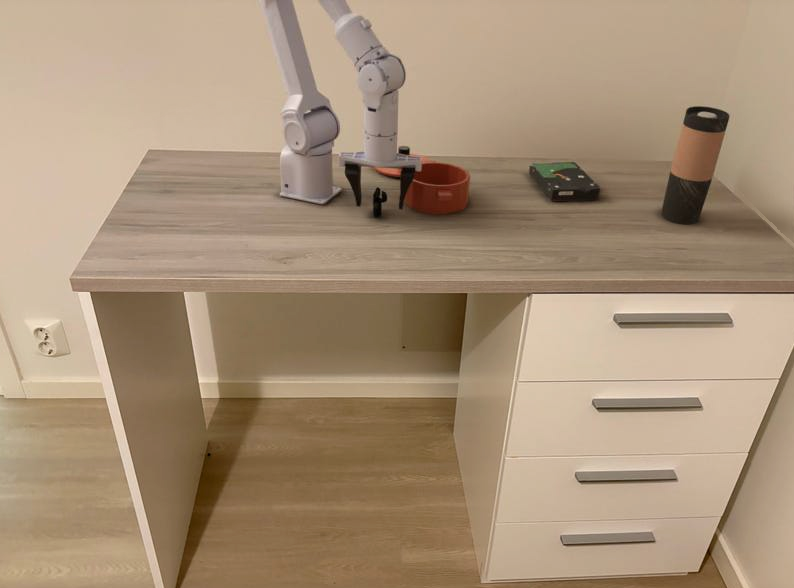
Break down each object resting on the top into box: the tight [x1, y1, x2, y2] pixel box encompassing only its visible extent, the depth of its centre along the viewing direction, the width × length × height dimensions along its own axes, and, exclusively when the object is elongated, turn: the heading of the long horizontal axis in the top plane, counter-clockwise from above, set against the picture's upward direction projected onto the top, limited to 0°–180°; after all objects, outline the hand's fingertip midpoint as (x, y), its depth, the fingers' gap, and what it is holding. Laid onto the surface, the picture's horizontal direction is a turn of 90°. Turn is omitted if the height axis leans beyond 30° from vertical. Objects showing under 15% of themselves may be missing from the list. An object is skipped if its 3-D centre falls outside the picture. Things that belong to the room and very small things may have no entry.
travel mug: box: [660, 105, 730, 225], centre depth 134 cm, size 8×8×20 cm
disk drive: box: [528, 161, 602, 202], centre depth 148 cm, size 10×3×15 cm
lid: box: [372, 145, 433, 178], centre depth 152 cm, size 13×13×4 cm
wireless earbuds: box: [372, 186, 388, 218], centre depth 132 cm, size 7×2×5 cm, turn 4°
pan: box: [404, 160, 471, 215], centre depth 138 cm, size 12×18×6 cm
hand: (379, 205), depth 132 cm, fingers open, 7 cm apart
